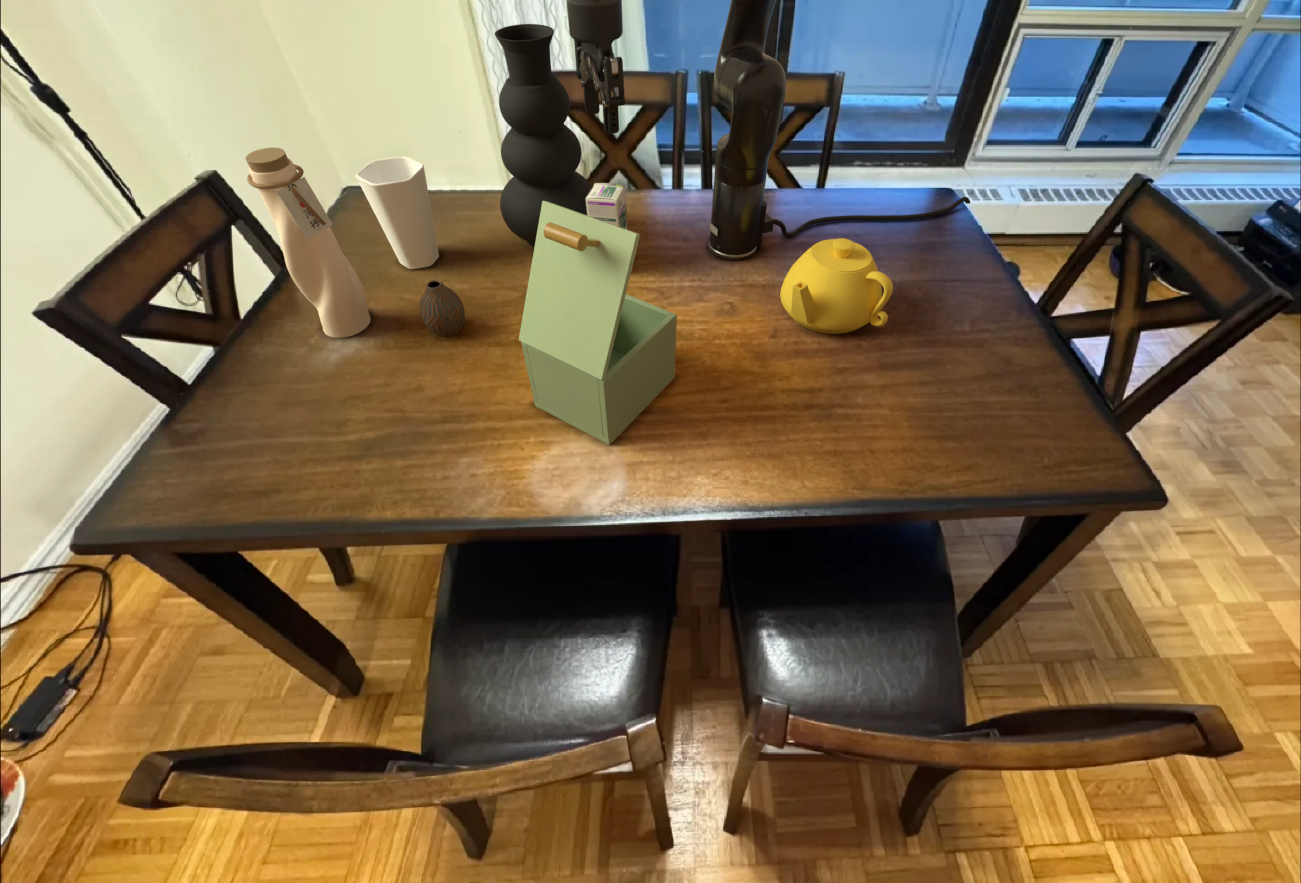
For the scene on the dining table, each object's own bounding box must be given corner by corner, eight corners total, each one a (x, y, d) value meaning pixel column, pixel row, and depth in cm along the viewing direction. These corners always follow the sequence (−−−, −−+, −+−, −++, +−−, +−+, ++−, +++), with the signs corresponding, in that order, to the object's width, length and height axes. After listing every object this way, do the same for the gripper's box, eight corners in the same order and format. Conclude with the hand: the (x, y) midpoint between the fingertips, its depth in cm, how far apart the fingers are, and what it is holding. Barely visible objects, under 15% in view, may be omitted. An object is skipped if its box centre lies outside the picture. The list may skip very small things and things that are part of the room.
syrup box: (622, 275, 109) (619, 199, 98) (592, 271, 110) (585, 196, 99) (629, 258, 113) (626, 184, 102) (599, 255, 114) (593, 181, 103)
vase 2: (492, 256, 114) (443, 45, 87) (527, 210, 125) (493, 13, 99) (583, 268, 111) (560, 54, 84) (610, 220, 122) (597, 19, 96)
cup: (446, 241, 117) (421, 153, 105) (452, 267, 111) (425, 177, 98) (388, 250, 115) (355, 162, 102) (390, 278, 109) (355, 187, 96)
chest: (603, 345, 96) (598, 282, 87) (674, 377, 90) (677, 314, 82) (534, 405, 87) (520, 342, 78) (609, 445, 81) (603, 382, 72)
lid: (546, 201, 70) (517, 196, 66) (640, 234, 65) (615, 232, 61) (522, 339, 78) (495, 343, 74) (605, 379, 72) (580, 386, 68)
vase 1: (433, 346, 96) (416, 301, 89) (423, 323, 100) (406, 278, 93) (474, 334, 98) (461, 289, 91) (463, 311, 102) (449, 267, 95)
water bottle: (392, 314, 101) (324, 147, 80) (359, 346, 96) (276, 175, 75) (343, 303, 104) (264, 137, 83) (308, 333, 98) (213, 163, 77)
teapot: (814, 271, 109) (829, 206, 100) (906, 315, 101) (932, 248, 91) (746, 318, 100) (756, 250, 91) (840, 370, 91) (862, 302, 82)
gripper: (639, 4, 76) (641, 135, 88) (601, -19, 85) (608, 104, 97) (585, 11, 74) (595, 144, 86) (551, -14, 83) (564, 111, 95)
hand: (601, 122), depth 92 cm, fingers open, 8 cm apart
